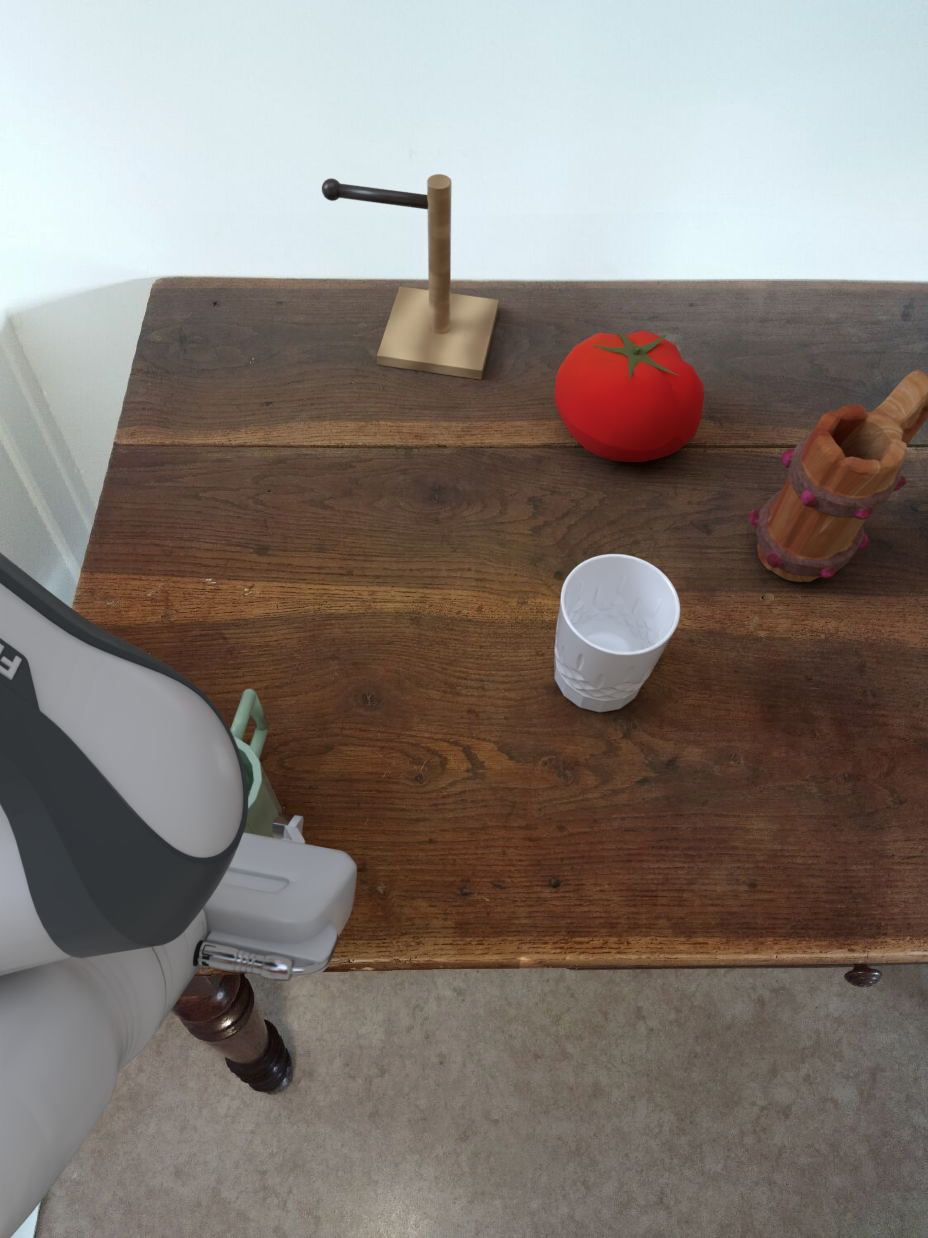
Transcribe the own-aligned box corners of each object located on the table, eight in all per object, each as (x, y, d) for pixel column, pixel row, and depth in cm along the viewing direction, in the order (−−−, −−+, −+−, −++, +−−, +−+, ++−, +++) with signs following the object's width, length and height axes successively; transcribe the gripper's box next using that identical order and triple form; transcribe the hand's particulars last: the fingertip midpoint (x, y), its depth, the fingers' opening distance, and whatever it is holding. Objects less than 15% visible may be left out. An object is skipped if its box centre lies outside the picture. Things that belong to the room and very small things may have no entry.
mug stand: (498, 309, 88) (509, 153, 74) (481, 380, 83) (489, 226, 69) (351, 288, 89) (334, 131, 75) (325, 357, 84) (302, 201, 70)
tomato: (673, 502, 76) (703, 417, 67) (532, 461, 78) (544, 373, 69) (701, 413, 81) (732, 324, 72) (569, 377, 83) (584, 285, 74)
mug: (797, 617, 70) (878, 496, 57) (718, 553, 73) (778, 424, 60) (904, 521, 75) (1000, 391, 62) (826, 465, 78) (902, 330, 65)
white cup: (544, 626, 69) (559, 551, 60) (645, 629, 69) (674, 555, 60) (546, 718, 65) (562, 652, 56) (653, 722, 65) (685, 657, 56)
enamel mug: (269, 880, 58) (243, 838, 51) (182, 863, 59) (143, 820, 51) (310, 741, 63) (292, 684, 56) (229, 727, 64) (200, 668, 56)
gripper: (327, 924, 39) (388, 794, 53) (-100, 840, 41) (63, 735, 54) (313, 1043, 41) (376, 887, 54) (-99, 958, 43) (60, 827, 56)
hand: (217, 811), depth 54 cm, fingers open, 8 cm apart
